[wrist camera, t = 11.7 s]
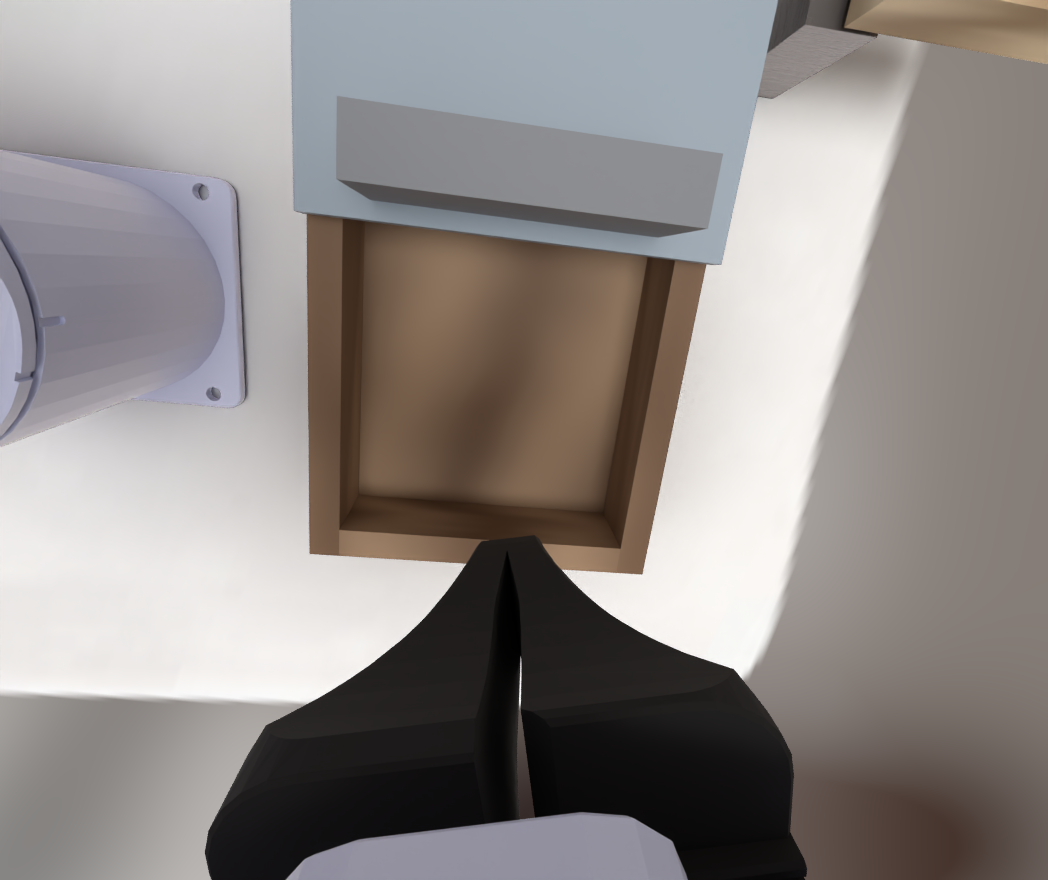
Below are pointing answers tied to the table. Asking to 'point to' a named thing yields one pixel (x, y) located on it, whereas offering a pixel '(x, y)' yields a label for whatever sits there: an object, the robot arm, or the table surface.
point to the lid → (530, 117)
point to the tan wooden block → (960, 24)
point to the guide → (807, 42)
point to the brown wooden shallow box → (489, 393)
